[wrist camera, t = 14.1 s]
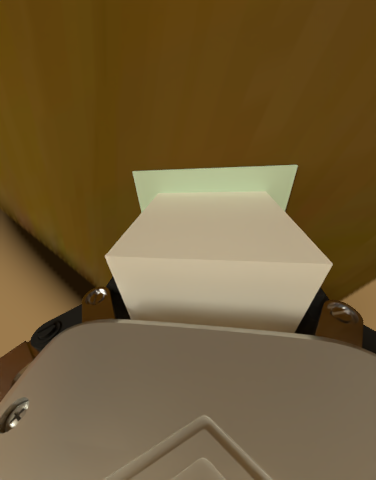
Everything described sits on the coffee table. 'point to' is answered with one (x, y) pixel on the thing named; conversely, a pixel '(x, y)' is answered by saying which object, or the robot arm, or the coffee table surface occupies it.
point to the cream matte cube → (217, 262)
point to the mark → (216, 181)
